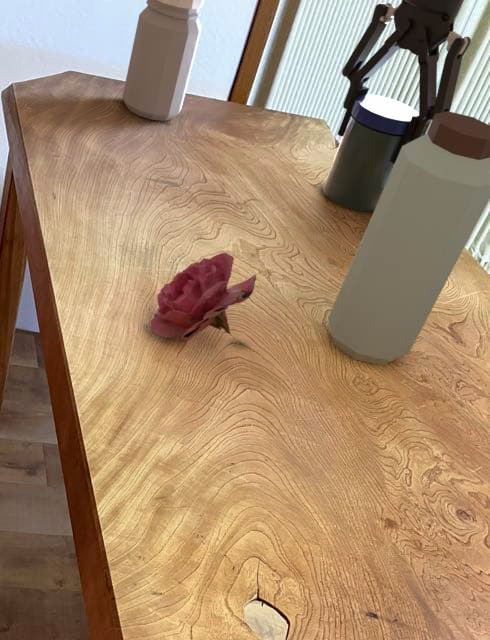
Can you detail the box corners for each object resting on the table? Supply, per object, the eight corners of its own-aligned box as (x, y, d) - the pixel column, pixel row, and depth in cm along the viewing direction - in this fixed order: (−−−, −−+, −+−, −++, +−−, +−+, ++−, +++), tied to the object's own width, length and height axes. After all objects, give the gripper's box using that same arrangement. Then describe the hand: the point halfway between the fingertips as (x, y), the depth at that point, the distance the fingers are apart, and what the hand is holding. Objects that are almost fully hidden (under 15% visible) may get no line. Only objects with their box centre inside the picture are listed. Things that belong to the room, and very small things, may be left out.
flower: (138, 363, 98) (125, 269, 95) (198, 348, 104) (186, 259, 102) (218, 357, 90) (205, 253, 87) (278, 341, 96) (268, 244, 93)
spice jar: (391, 211, 134) (430, 125, 125) (344, 212, 130) (380, 124, 122) (357, 183, 139) (392, 99, 131) (311, 183, 136) (343, 97, 127)
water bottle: (307, 320, 105) (398, 100, 88) (377, 320, 109) (478, 108, 91) (348, 370, 99) (455, 144, 82) (421, 368, 102) (539, 151, 85)
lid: (425, 130, 128) (431, 117, 127) (392, 139, 122) (398, 124, 121) (373, 104, 132) (378, 91, 130) (338, 111, 126) (343, 97, 125)
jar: (191, 122, 145) (223, -2, 132) (141, 123, 140) (170, -5, 127) (158, 97, 150) (186, -24, 137) (109, 98, 145) (134, -28, 133)
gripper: (531, 1, 112) (447, 176, 127) (388, -56, 121) (326, 115, 137) (505, 3, 107) (421, 185, 123) (358, -55, 117) (298, 120, 132)
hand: (371, 148), depth 130 cm, fingers closed on lid, 9 cm apart
